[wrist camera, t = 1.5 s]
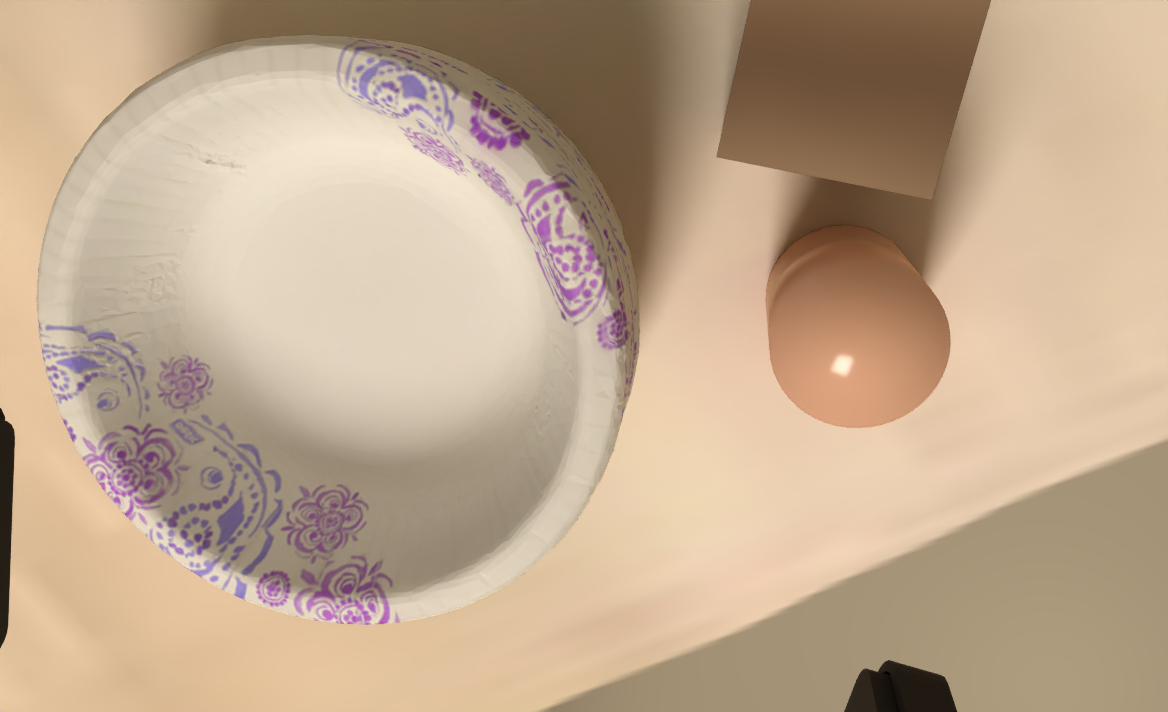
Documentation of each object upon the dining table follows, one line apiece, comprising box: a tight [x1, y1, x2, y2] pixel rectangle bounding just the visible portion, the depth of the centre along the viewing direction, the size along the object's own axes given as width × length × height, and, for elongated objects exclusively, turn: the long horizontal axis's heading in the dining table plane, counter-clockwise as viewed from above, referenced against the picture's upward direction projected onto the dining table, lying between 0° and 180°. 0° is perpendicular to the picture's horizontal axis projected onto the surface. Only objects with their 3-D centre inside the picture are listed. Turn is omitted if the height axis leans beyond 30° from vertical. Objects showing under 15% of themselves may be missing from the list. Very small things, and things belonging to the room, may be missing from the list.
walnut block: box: [717, 0, 991, 200], centre depth 25 cm, size 5×5×6 cm
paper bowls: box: [37, 35, 640, 625], centre depth 28 cm, size 15×15×8 cm
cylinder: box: [766, 225, 950, 428], centre depth 27 cm, size 4×4×5 cm
